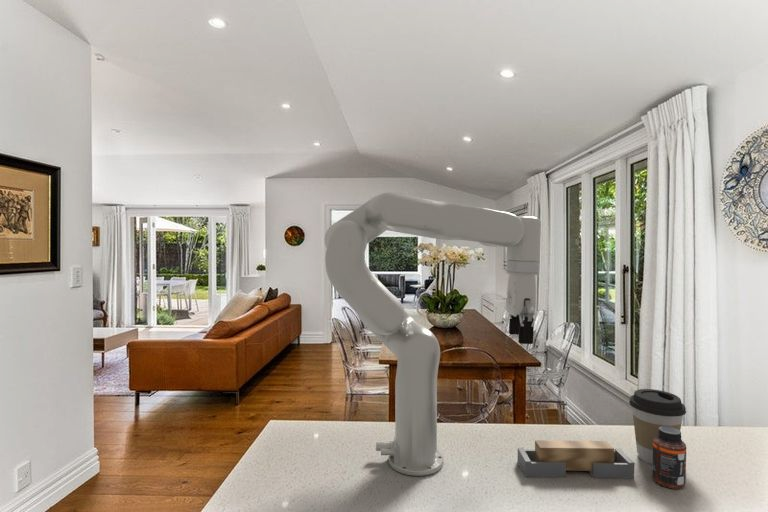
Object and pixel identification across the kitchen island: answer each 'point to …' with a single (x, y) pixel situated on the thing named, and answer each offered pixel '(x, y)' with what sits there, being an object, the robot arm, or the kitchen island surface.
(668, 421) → the coffee cup
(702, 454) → the kitchen island surface
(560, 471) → the cap
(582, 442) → the light wood rectangular block
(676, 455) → the supplement bottle
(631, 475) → the cap
